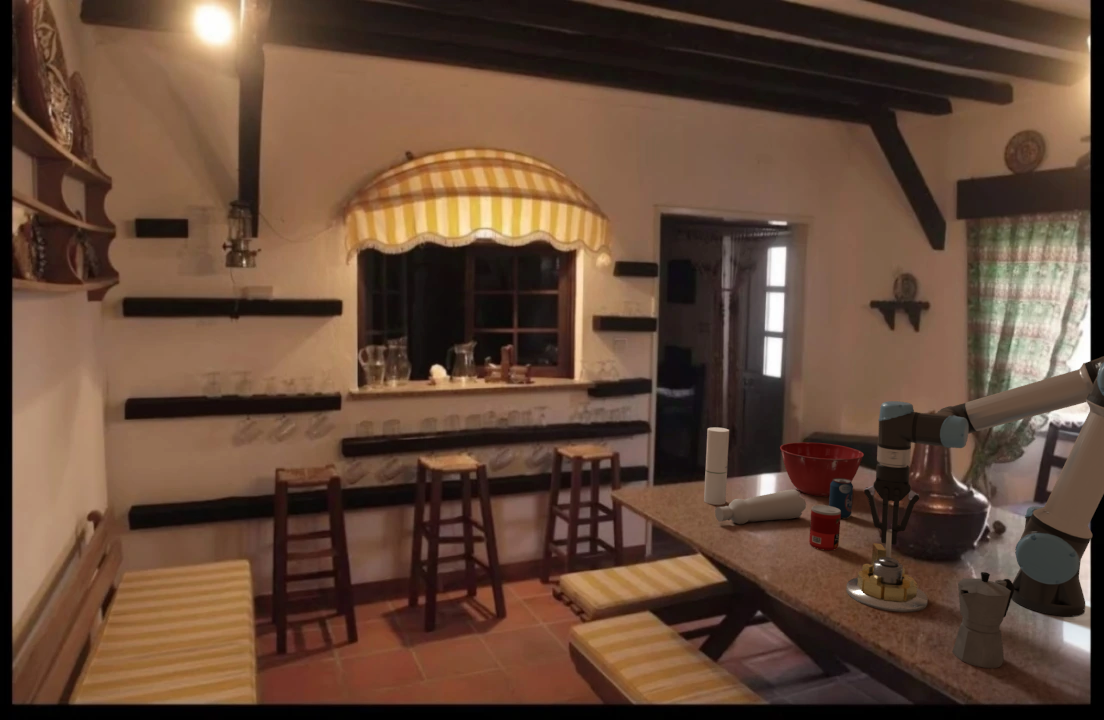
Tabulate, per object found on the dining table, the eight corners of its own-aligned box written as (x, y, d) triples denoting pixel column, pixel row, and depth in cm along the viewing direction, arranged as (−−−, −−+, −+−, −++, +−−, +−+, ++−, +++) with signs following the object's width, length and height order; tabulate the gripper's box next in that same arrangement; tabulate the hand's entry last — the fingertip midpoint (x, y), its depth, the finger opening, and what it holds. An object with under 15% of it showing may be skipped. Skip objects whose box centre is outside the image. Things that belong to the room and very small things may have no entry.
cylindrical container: (728, 501, 262) (732, 429, 259) (721, 506, 256) (724, 432, 253) (708, 497, 266) (712, 426, 263) (700, 502, 260) (704, 429, 257)
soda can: (850, 520, 244) (853, 483, 243) (827, 517, 246) (830, 481, 245) (851, 514, 250) (853, 478, 249) (828, 511, 253) (831, 476, 252)
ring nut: (900, 575, 195) (902, 545, 194) (921, 603, 178) (924, 570, 177) (849, 570, 197) (851, 541, 196) (865, 598, 180) (868, 566, 179)
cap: (942, 601, 183) (945, 565, 182) (899, 618, 173) (902, 580, 172) (873, 576, 198) (876, 542, 197) (831, 590, 188) (833, 555, 187)
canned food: (840, 552, 215) (843, 514, 214) (810, 549, 217) (813, 511, 216) (836, 542, 223) (838, 506, 221) (807, 540, 224) (809, 503, 223)
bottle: (785, 501, 252) (707, 512, 241) (796, 482, 247) (717, 493, 236) (800, 523, 246) (721, 535, 235) (811, 504, 240) (731, 516, 229)
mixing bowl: (765, 481, 289) (767, 441, 288) (837, 480, 293) (840, 441, 291) (797, 503, 262) (800, 459, 260) (876, 502, 265) (879, 459, 263)
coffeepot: (976, 674, 149) (984, 586, 147) (934, 652, 158) (942, 568, 156) (1028, 660, 155) (1037, 575, 153) (986, 639, 164) (993, 558, 162)
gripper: (864, 464, 189) (859, 556, 192) (921, 470, 184) (915, 565, 186) (866, 458, 196) (862, 547, 198) (921, 463, 190) (916, 555, 193)
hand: (888, 555), depth 192 cm, fingers closed
